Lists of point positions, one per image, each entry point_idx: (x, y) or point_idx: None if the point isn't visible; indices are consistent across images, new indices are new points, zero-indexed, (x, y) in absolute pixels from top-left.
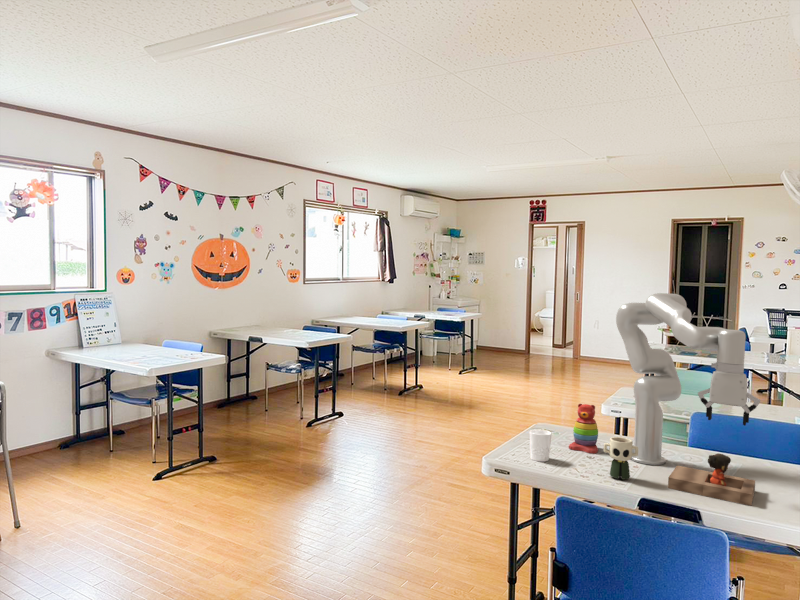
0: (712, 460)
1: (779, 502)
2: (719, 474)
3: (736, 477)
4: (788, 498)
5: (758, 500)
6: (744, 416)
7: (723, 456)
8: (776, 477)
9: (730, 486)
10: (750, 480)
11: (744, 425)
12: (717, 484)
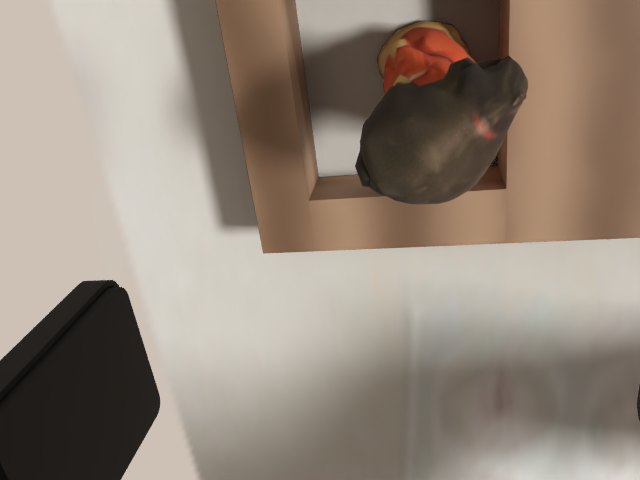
0: (487, 72)
1: (147, 131)
2: (424, 67)
3: (354, 236)
4: (140, 227)
5: (226, 81)
6: (10, 376)
7: (405, 135)
8: (255, 476)
9: None
10: (281, 232)
11: (105, 285)
12: (429, 28)
